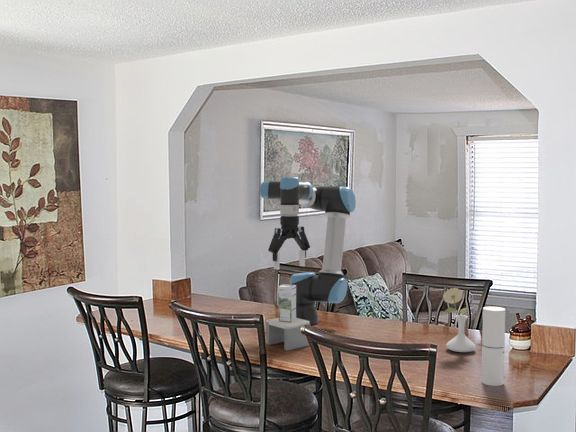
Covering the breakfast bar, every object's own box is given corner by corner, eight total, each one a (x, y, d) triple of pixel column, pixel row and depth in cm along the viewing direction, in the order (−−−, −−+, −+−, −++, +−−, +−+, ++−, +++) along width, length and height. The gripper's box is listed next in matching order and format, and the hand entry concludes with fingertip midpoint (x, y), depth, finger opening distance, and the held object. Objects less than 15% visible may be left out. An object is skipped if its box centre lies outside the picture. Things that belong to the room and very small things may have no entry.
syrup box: (296, 319, 271) (296, 284, 270) (291, 322, 266) (291, 286, 265) (283, 318, 273) (283, 283, 272) (278, 321, 268) (278, 285, 267)
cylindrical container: (476, 381, 224) (478, 307, 222) (491, 377, 227) (493, 305, 226) (493, 387, 217) (495, 311, 216) (508, 383, 221) (510, 309, 220)
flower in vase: (476, 348, 266) (477, 286, 264) (475, 355, 255) (477, 291, 253) (442, 345, 269) (443, 284, 268) (440, 353, 259) (442, 289, 257)
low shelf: (266, 344, 271) (266, 319, 271) (288, 339, 279) (288, 315, 278) (287, 350, 262) (287, 325, 261) (309, 345, 269) (309, 321, 269)
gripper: (271, 217, 257) (271, 271, 258) (318, 214, 273) (318, 265, 274) (259, 216, 262) (259, 269, 264) (306, 213, 278) (306, 263, 280)
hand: (289, 267), depth 269 cm, fingers open, 13 cm apart
